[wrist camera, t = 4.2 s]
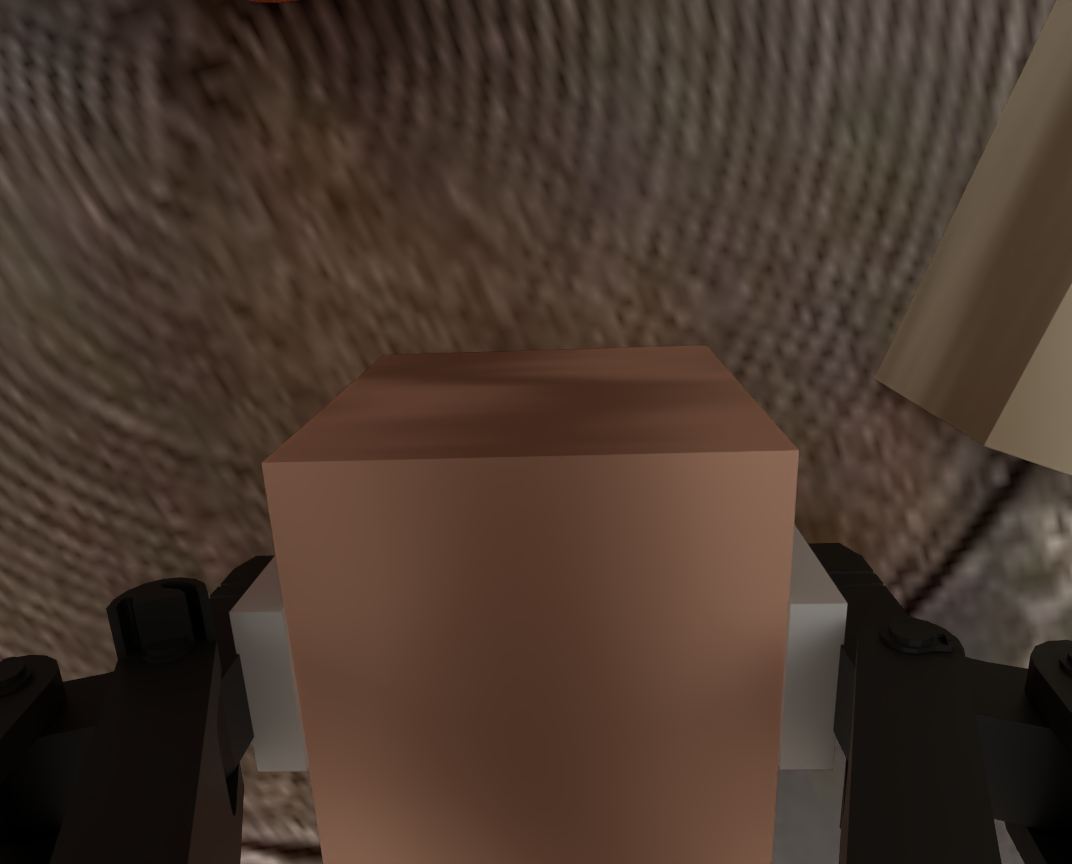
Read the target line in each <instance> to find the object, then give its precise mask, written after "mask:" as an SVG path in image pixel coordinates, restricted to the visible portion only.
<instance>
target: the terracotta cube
mask: <svg viewBox="0 0 1072 864" xmlns="http://www.w3.org/2000/svg"><path fill="white" fill-rule="evenodd" d="M798 459H799V450H798V449H797V447H796V446H795V445H794V444H793V443H792V442H791V441H790V439H789V438H788V437H787V436H786V435H785V434H784V433H783V431H782V430H781V429H780V428H779V427H778V426H777V425H776V424H775V422H774V421H773V420H772V419H771V418H770V417H769V416H768V414H767V413H766V412H765V411H764V410H763V409H762V408H761V406H760V405H759V404H758V403H757V402H756V401H755V400H754V398H753V397H752V396H751V395H750V394H749V393H748V392H747V391H746V389H745V388H744V387H743V386H742V385H741V384H740V383H739V381H738V380H737V379H736V378H735V377H734V376H733V375H732V373H731V372H730V371H729V370H728V369H727V368H726V367H725V365H724V364H723V363H722V362H721V361H720V360H719V359H718V357H717V356H716V355H715V354H714V353H713V352H712V351H711V350H710V348H709V347H708V346H707V345H694V346H661V347H629V348H596V349H563V350H530V351H498V352H465V353H432V354H399V355H383V356H382V357H381V358H380V359H379V360H378V361H376V362H375V363H374V364H373V365H372V366H371V367H370V368H368V369H367V370H366V371H365V372H364V373H363V374H362V375H360V376H359V377H358V378H357V379H356V380H355V381H354V382H353V383H351V384H350V385H349V386H348V387H347V388H346V389H345V390H343V391H342V392H341V393H340V394H339V395H338V396H337V397H336V398H334V399H333V400H332V401H331V402H330V403H329V404H328V405H326V406H325V407H324V408H323V409H322V410H321V411H320V412H318V413H317V414H316V415H315V416H314V417H313V418H312V419H311V420H309V421H308V422H307V423H306V424H305V425H304V426H303V427H301V428H300V429H299V430H298V431H297V432H296V433H295V434H294V435H292V436H291V437H290V438H289V439H288V440H287V441H286V442H284V443H283V444H282V445H281V446H280V447H279V448H278V449H276V450H275V451H274V452H273V453H272V454H271V455H270V456H269V457H267V458H266V459H265V460H264V461H263V462H262V463H261V464H262V470H263V477H264V483H265V490H266V496H267V503H268V509H269V516H270V522H271V528H272V535H273V541H274V548H275V554H276V561H277V567H278V574H279V580H280V587H281V593H282V600H283V606H284V607H285V613H286V619H287V626H288V632H289V638H290V645H291V651H292V658H293V664H294V670H295V677H296V683H297V690H298V696H299V702H300V709H301V715H302V722H303V728H304V734H305V741H306V747H307V753H308V760H309V774H310V781H311V787H312V794H313V800H314V806H315V813H316V819H317V826H318V832H319V839H320V845H321V852H322V858H323V864H772V854H773V839H774V824H775V809H776V793H777V778H778V754H779V738H780V722H781V707H782V691H783V675H784V659H785V643H786V627H787V611H788V600H789V596H790V580H791V565H792V550H793V535H794V520H795V504H796V489H797V474H798Z"/></svg>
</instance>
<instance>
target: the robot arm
mask: <svg viewBox="0 0 1072 864" xmlns="http://www.w3.org/2000/svg"><path fill="white" fill-rule="evenodd" d="M106 610H107V614H108V619H109V623H110V627H111V631H112V636H113V640H114V644H115V649H116V653H117V657H118V662H117V664H116V667H115V670H114V672H110V673H106V674H101V675H96V676H91V677H86V678H81V679H75V680H70V681H65V682H62V678H61V674H60V670H59V667H58V664H57V661H56V660H55V659H53V658H51V657H48V656H44V655H27V656H21V657H10V658H6V659H2V661H1V662H0V864H240V858H241V838H242V818H243V798H244V783H243V778H242V773H241V767H240V760H241V758H242V757H243V755H244V753H245V751H246V750H247V748H248V746H249V745H250V743H251V741H252V742H253V748H254V754H255V759H256V765H257V770H258V771H307V770H308V768H309V760H308V753H307V747H306V741H305V734H304V728H303V722H302V715H301V709H300V702H299V696H298V690H297V683H296V677H295V670H294V664H293V658H292V651H291V645H290V638H289V632H288V626H287V619H286V613H285V607H284V606H283V600H282V593H281V587H280V580H279V574H278V567H277V561H276V555H275V556H255V557H254V558H252V559H250V560H249V561H247V562H245V563H243V564H242V565H240V566H238V567H237V568H235V569H234V570H233V571H232V572H231V573H230V574H229V575H228V576H227V578H226V579H225V580H224V581H223V582H222V583H221V587H218V588H217V589H216V590H215V591H214V592H213V593H212V594H211V595H210V599H209V598H208V592H207V589H206V585H205V583H203V582H201V581H199V580H197V579H191V578H182V577H180V578H169V579H162V580H158V581H153V582H149V583H145V584H143V585H140V586H138V587H135V588H133V589H130V590H128V591H126V592H124V593H123V594H121V595H120V596H118V597H117V598H115V599H114V600H113V601H112V602H111V603H110V605H109V606H108V607H107V608H106ZM836 738H837V740H838V742H839V744H840V746H841V748H842V750H843V752H844V754H845V756H846V767H845V777H844V788H843V799H842V809H841V820H840V828H841V838H840V855H839V864H1001V858H1000V852H999V847H998V841H997V835H996V829H995V824H994V819H997V820H1002V821H1005V825H1006V829H1007V831H1008V833H1009V835H1010V837H1011V839H1012V840H1013V842H1014V844H1015V846H1016V848H1017V850H1018V852H1019V854H1020V856H1021V858H1022V859H1023V861H1024V863H1025V864H1072V641H1069V640H1060V641H1047V642H1045V643H1042V644H1040V645H1037V646H1035V648H1034V650H1033V651H1032V653H1031V656H1030V662H1029V668H1028V669H1025V668H1019V667H1013V666H1007V665H1001V664H995V663H989V662H984V661H980V660H975V659H971V658H968V657H965V652H964V649H963V647H962V645H961V643H960V641H959V640H958V639H957V638H956V637H955V636H954V635H952V634H951V633H950V632H948V631H947V630H946V629H944V628H942V627H939V626H937V625H935V624H933V623H930V622H928V621H924V620H920V619H916V618H912V617H910V616H909V615H908V614H907V613H906V611H905V610H904V609H903V608H902V606H901V605H900V604H899V603H898V601H897V600H896V599H895V598H894V596H893V595H892V594H891V593H890V591H889V590H888V589H887V588H886V586H883V582H882V581H881V580H880V579H879V577H878V576H877V575H876V574H873V570H872V569H871V567H870V566H869V565H868V564H867V562H866V561H865V560H864V559H863V557H862V556H861V555H859V554H857V553H856V552H854V551H852V550H850V549H849V548H847V547H845V546H843V545H842V544H840V543H818V544H807V542H806V541H805V539H804V538H803V536H802V535H801V533H800V532H799V530H798V529H797V527H796V526H795V524H794V535H793V550H792V565H791V580H790V596H789V600H788V611H787V627H786V643H785V659H784V675H783V691H782V707H781V722H780V738H779V754H778V766H779V768H780V770H833V762H834V751H835V739H836Z"/></svg>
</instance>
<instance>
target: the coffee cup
mask: <svg viewBox="0 0 1072 864" xmlns="http://www.w3.org/2000/svg"><path fill="white" fill-rule="evenodd" d="M247 1H254V2H268V3H281V2H292V1H298V0H247Z"/></svg>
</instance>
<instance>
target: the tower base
mask: <svg viewBox="0 0 1072 864" xmlns="http://www.w3.org/2000/svg"><path fill="white" fill-rule="evenodd" d="M874 379H876V380H877V381H879V382H881V383H882V384H884V385H886V386H887V387H889V388H891V389H892V390H894V391H895V392H897V393H899V394H900V395H902V396H904V397H905V398H907V399H908V400H910V401H912V402H913V403H915V404H917V405H918V406H920V407H921V408H923V409H925V410H926V411H928V412H930V413H931V414H933V415H934V416H936V417H938V418H939V419H941V420H943V421H944V422H946V423H948V424H949V425H951V426H952V427H954V428H956V429H957V430H959V431H961V432H962V433H964V434H965V435H967V436H969V437H970V438H972V439H974V440H975V441H977V442H978V443H980V444H982V445H983V446H986V447H989V448H992V449H995V450H998V451H1001V452H1004V453H1007V454H1010V455H1012V456H1015V457H1018V458H1021V459H1024V460H1027V461H1030V462H1033V463H1036V464H1039V465H1042V466H1045V467H1048V468H1051V469H1054V470H1057V471H1060V472H1063V473H1066V474H1069V475H1071V476H1072V0H1056V2H1055V4H1054V6H1053V8H1052V10H1051V13H1050V15H1049V17H1048V19H1047V21H1046V23H1045V25H1044V27H1043V29H1042V31H1041V33H1040V35H1039V37H1038V40H1037V42H1036V44H1035V46H1034V48H1033V50H1032V52H1031V54H1030V56H1029V58H1028V60H1027V62H1026V64H1025V67H1024V69H1023V71H1022V73H1021V75H1020V77H1019V79H1018V81H1017V83H1016V85H1015V87H1014V89H1013V91H1012V94H1011V96H1010V98H1009V100H1008V102H1007V104H1006V106H1005V108H1004V110H1003V112H1002V114H1001V116H1000V118H999V121H998V123H997V125H996V127H995V129H994V131H993V133H992V135H991V137H990V139H989V141H988V143H987V145H986V148H985V150H984V152H983V154H982V156H981V158H980V160H979V162H978V164H977V166H976V168H975V170H974V172H973V175H972V177H971V179H970V181H969V183H968V185H967V187H966V189H965V191H964V193H963V195H962V197H961V199H960V202H959V204H958V206H957V208H956V210H955V212H954V214H953V216H952V218H951V220H950V222H949V224H948V226H947V229H946V231H945V233H944V235H943V237H942V239H941V241H940V243H939V245H938V247H937V249H936V251H935V253H934V256H933V258H932V260H931V262H930V264H929V266H928V268H927V270H926V272H925V274H924V276H923V278H922V280H921V283H920V285H919V287H918V289H917V291H916V293H915V295H914V297H913V299H912V301H911V303H910V305H909V307H908V310H907V312H906V314H905V316H904V318H903V320H902V322H901V324H900V326H899V328H898V330H897V332H896V334H895V337H894V339H893V341H892V343H891V345H890V347H889V349H888V351H887V353H886V355H885V357H884V359H883V361H882V364H881V366H880V368H879V370H878V372H877V374H876V376H875V378H874Z"/></svg>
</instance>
